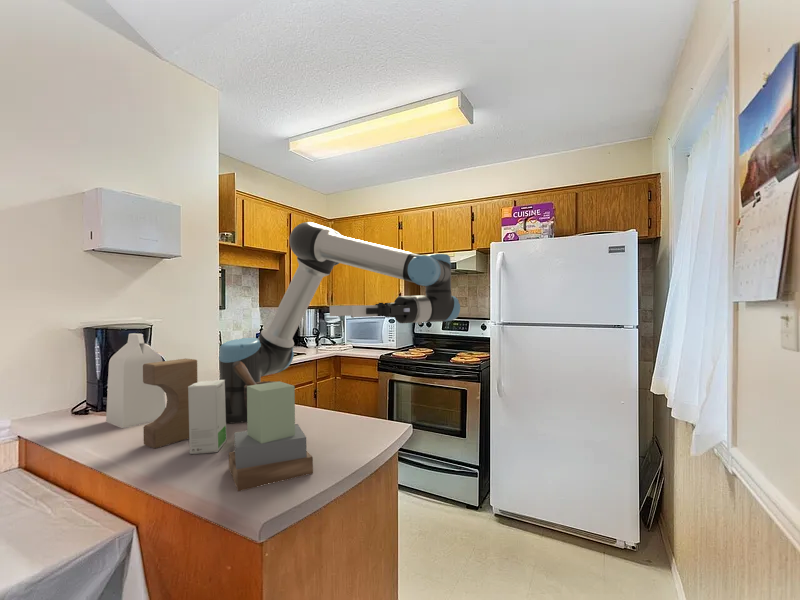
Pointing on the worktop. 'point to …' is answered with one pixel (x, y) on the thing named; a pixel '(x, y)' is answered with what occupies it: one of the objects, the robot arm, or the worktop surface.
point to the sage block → (270, 411)
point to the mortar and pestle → (245, 377)
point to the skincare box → (207, 416)
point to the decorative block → (170, 400)
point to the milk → (133, 386)
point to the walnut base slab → (269, 472)
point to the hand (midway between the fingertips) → (340, 311)
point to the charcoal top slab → (268, 449)
